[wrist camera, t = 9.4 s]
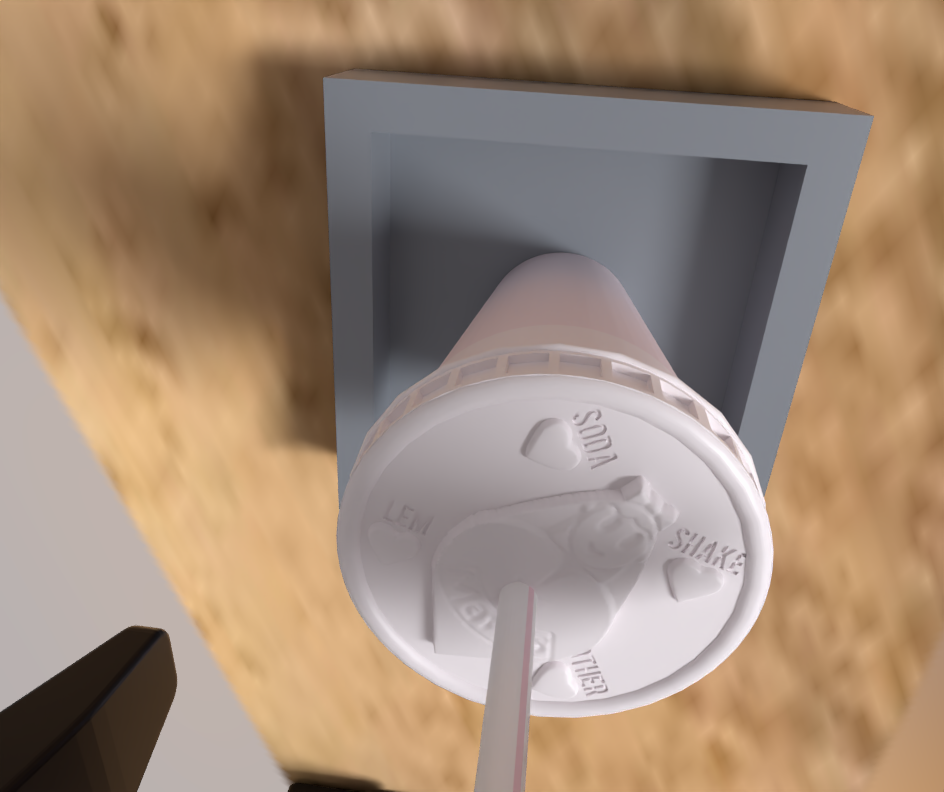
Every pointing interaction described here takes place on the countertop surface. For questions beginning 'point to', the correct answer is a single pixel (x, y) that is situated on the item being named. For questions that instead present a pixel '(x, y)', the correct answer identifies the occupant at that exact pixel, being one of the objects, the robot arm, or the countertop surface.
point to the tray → (582, 226)
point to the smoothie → (554, 516)
